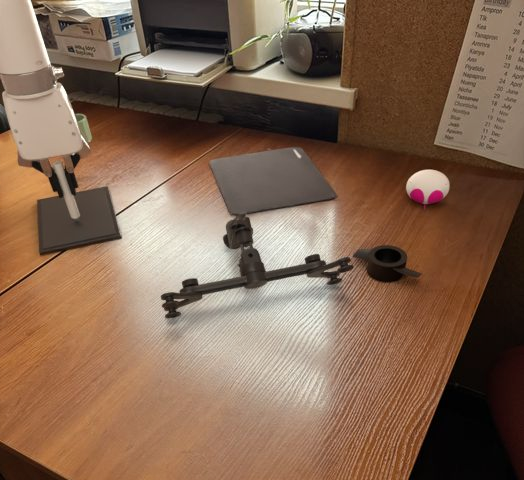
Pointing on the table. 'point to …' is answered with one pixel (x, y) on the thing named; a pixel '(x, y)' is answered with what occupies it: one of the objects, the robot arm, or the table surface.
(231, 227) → the tablet mount
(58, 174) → the stylus
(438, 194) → the stress ball
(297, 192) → the mouse pad
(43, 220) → the tablet
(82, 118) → the pen cup
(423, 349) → the table surface
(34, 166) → the robot arm
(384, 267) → the black winged ring
